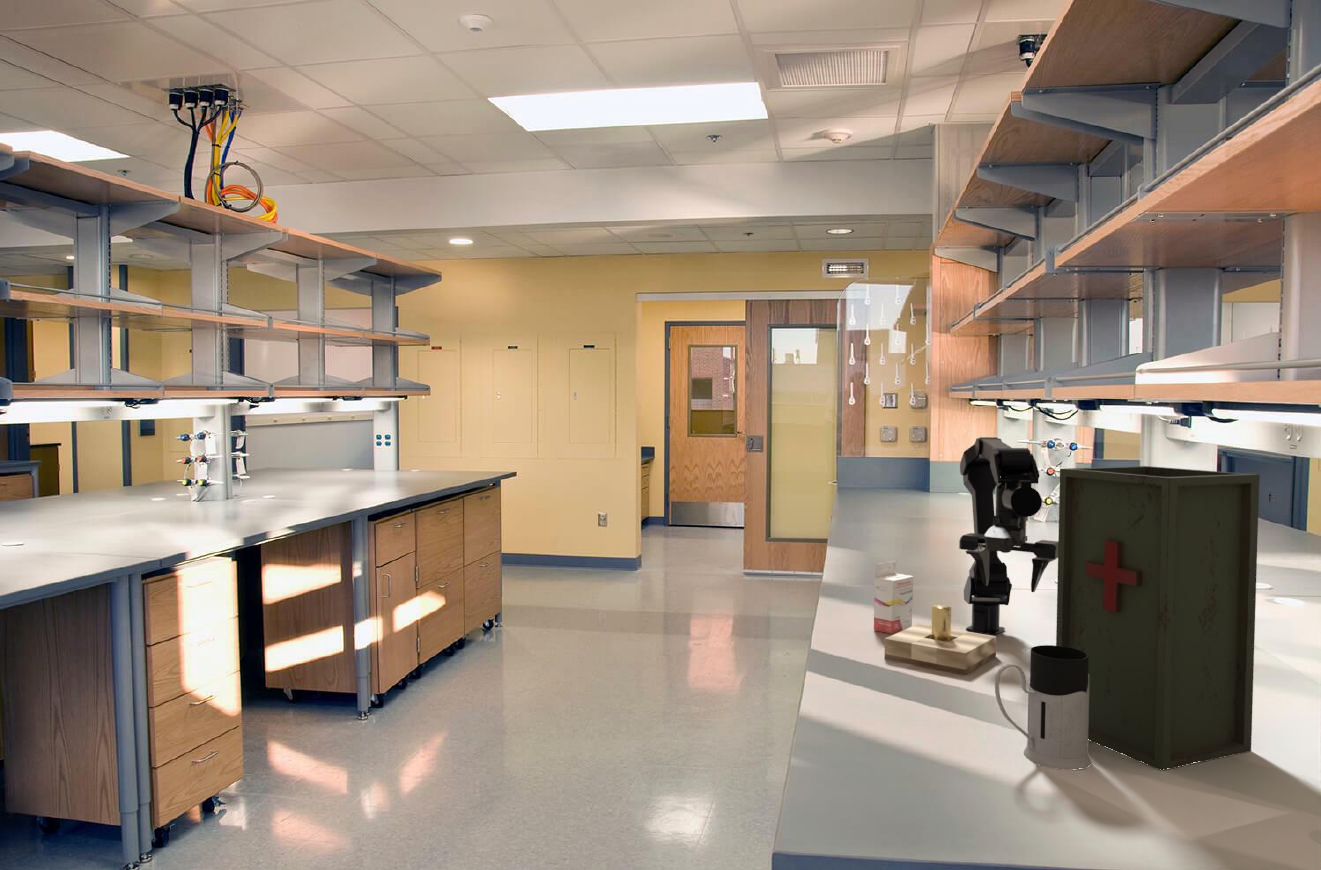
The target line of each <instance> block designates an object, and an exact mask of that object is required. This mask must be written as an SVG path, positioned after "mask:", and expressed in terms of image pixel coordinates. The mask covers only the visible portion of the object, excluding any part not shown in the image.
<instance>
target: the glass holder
mask: <svg viewBox="0 0 1321 870" xmlns="http://www.w3.org/2000/svg"><path fill="white" fill-rule="evenodd" d="M1029 662H1030V663H1029V667H1030V670H1029V683H1028V690H1027V683H1026V682H1027V680H1026V675H1025V671H1024V670H1023V669H1022V668H1021V667H1020V666H1019V665H1018V664H1015V663H1006V664H1004V665H1002V666H1001V667H1000V668H998V670H997V672H996V673H995V679H994V693H995V698H996V702H997V705H998V706H999V709H1000V712H1001V713H1002V715H1003V717H1004V718H1005V719H1006V720H1007V721H1008V722H1009V723H1010V724H1011V725H1012V726H1013V727H1014V728H1016V730H1018V731H1019V732H1020V733H1022V735H1023V736H1024V737H1026V739H1027V742H1026V747H1025V748H1024V750H1023V756H1024V757H1025V758H1026V759H1028V760H1029V761H1031V762H1032V761H1033V762H1032V763H1034V762H1035V763H1034V764H1037V763H1038V764H1037V765H1039V764H1040V766H1042V765H1043V767H1046V768H1050V769H1054V768H1059V769H1058V770H1062V769H1079V768H1085V769H1087V768H1089V767H1090V766H1091V765H1092V759H1091V757H1090V755H1089V740H1088V724H1089V681H1090V680H1089V674H1088V664H1089V655H1088V654H1087V653H1086V652H1084V651H1081V650H1078V649H1074V648H1070V647H1064V646H1056V645H1053V644H1052V645H1050V644H1049V645H1048V644H1045V645H1037V646H1036V645H1035V646H1033V647H1031V648H1030V661H1029ZM1012 667H1013V668H1015V669H1017V671H1018V672H1019V674H1020V680H1021V681H1020V682H1021V684H1020V686H1021V689H1022V691H1023V692H1024V693H1026V694H1028V700H1027V701H1028V702H1027V703H1028V704H1027V732H1026V731H1025V730H1024V729H1022V727H1020V726H1019V725H1017V723H1016V722H1015V721H1013V719H1011V717H1010V716H1009V715H1008V713H1007V711H1006V709H1005V707H1004V705H1003V702H1002V698H1001V695H1000V694H1001V692H1000V679H1001V676H1002V673H1003V672H1004V671H1005V670H1007V669H1008V668H1012ZM1090 764H1091V765H1090ZM1089 765H1090V766H1089ZM1088 766H1089V767H1088ZM1086 767H1087V768H1086Z"/></svg>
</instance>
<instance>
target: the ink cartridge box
mask: <svg viewBox="0 0 1321 870" xmlns="http://www.w3.org/2000/svg"><path fill="white" fill-rule="evenodd" d="M886 567H887V568H888V569H887V568H886ZM885 568H886V569H885ZM896 568H897V560H895V559H894V560H890V561H885V562H880V563H877V564H876V568H875V576H874V595H873V596H874V598H873V599H874V600H873V601H874V602H873V603H874V604H873V630H874V631H878V632H882V633H887V634H889V635H890V634H891V635H894V634H896V633H898V632H901V631H903V630H905V629H908V628H910V627H912V626H913V599H914V596H913V595H914V576H913V575H909V574H903V573H896Z"/></svg>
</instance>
